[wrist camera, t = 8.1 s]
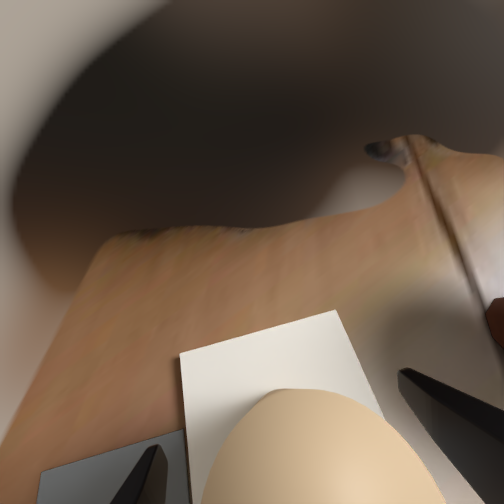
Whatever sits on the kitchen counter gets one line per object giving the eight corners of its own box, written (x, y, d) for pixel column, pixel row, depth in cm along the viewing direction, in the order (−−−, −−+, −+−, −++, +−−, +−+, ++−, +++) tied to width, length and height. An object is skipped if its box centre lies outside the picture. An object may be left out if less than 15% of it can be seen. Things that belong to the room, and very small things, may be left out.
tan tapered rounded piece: (335, 465, 13) (559, 735, 3) (260, 489, 13) (220, 887, 3) (306, 380, 16) (378, 363, 5) (242, 399, 15) (182, 423, 5)
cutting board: (427, 527, 13) (438, 537, 12) (208, 606, 12) (203, 623, 11) (332, 313, 19) (335, 309, 18) (184, 355, 18) (179, 353, 17)
